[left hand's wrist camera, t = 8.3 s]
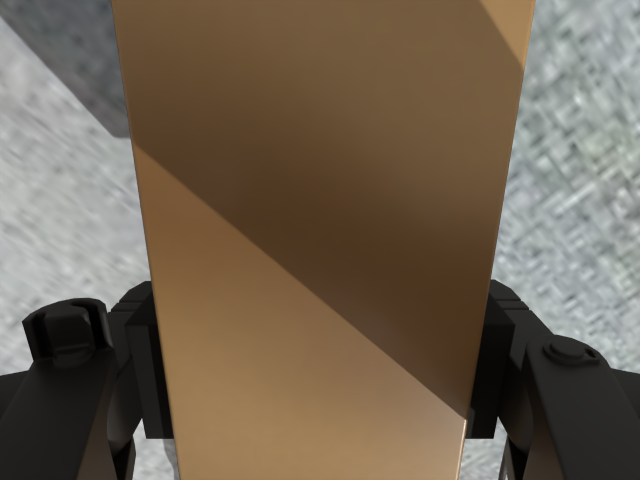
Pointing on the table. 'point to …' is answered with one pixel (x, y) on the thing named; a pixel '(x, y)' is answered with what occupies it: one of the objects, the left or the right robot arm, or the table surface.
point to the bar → (321, 223)
